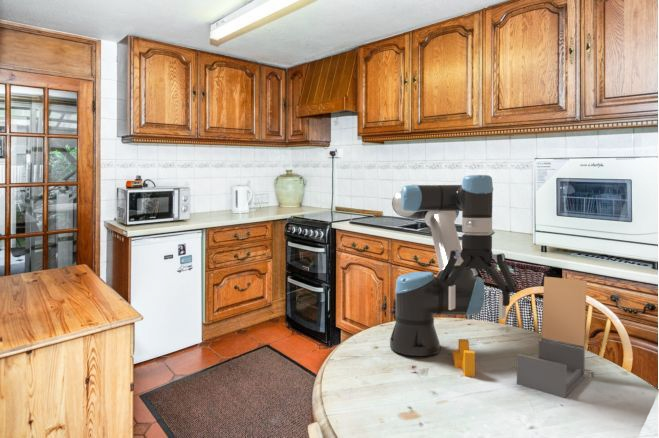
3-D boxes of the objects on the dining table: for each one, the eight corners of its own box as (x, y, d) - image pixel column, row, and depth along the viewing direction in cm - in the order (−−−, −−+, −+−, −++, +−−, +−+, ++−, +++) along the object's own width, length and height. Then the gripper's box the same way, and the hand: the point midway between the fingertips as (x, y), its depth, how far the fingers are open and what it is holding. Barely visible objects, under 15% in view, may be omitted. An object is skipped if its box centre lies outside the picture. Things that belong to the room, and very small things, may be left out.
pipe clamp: (452, 360, 121) (452, 338, 121) (467, 361, 120) (467, 339, 120) (457, 376, 109) (457, 352, 109) (474, 377, 108) (474, 353, 108)
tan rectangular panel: (544, 276, 117) (545, 276, 117) (541, 340, 115) (542, 339, 116) (586, 280, 109) (586, 280, 110) (583, 348, 108) (584, 348, 108)
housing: (516, 384, 104) (516, 354, 103) (539, 366, 115) (540, 340, 115) (565, 397, 96) (565, 366, 96) (584, 377, 108) (584, 349, 108)
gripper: (427, 232, 113) (426, 308, 114) (522, 237, 97) (521, 325, 97) (439, 231, 119) (439, 303, 120) (531, 235, 102) (530, 318, 103)
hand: (476, 313), depth 109 cm, fingers open, 13 cm apart
